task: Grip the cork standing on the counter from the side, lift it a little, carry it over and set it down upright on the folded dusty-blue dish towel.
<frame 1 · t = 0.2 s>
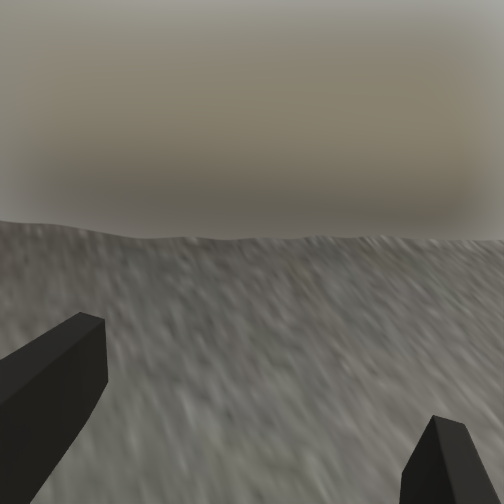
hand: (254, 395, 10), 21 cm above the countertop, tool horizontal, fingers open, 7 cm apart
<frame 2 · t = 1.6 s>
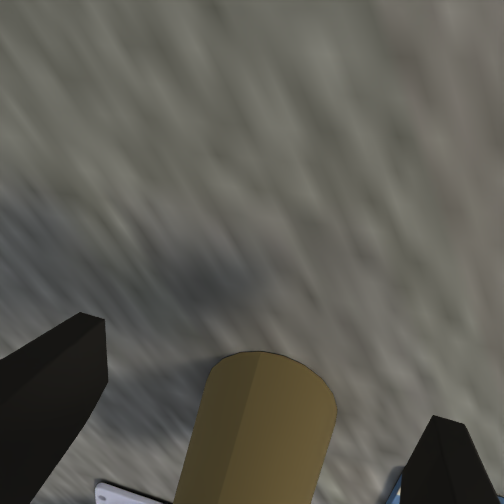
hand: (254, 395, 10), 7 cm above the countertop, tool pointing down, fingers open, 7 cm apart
cork: (270, 399, 22), on the countertop
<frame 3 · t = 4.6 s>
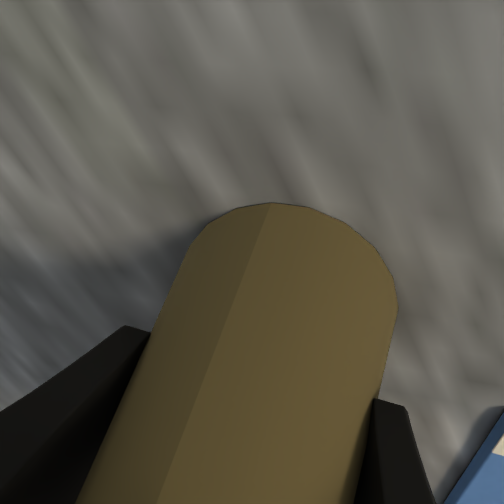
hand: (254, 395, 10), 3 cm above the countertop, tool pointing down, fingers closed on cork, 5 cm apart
cork: (285, 298, 13), on the countertop, touching gripper
when the fingers open (4 cm above the countertop, at t = 9.6 s): cork stays where it is, resting on towel.
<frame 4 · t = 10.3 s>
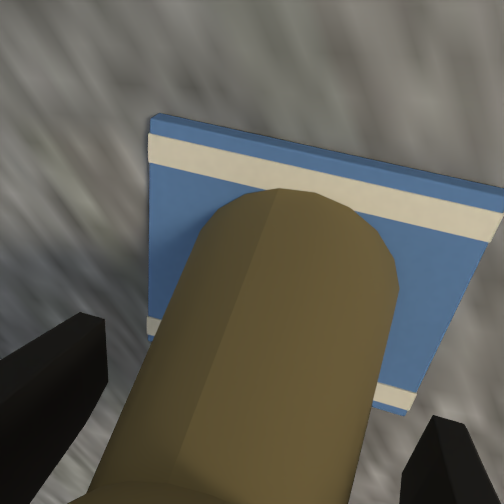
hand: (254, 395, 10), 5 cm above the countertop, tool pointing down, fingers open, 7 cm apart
cork: (291, 280, 14), resting on towel
towel: (295, 273, 14), on the countertop
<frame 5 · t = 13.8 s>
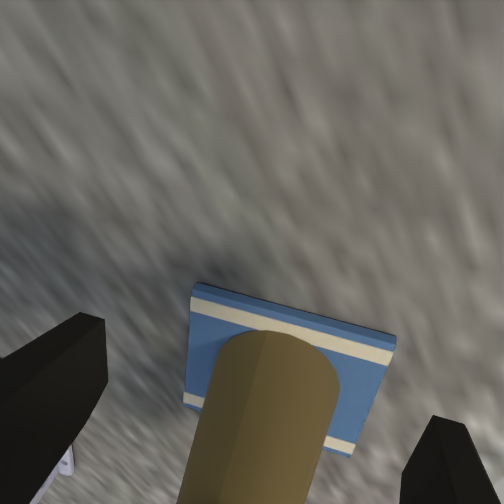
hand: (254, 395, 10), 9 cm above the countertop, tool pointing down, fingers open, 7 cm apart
cork: (276, 376, 23), resting on towel
towel: (278, 370, 23), on the countertop
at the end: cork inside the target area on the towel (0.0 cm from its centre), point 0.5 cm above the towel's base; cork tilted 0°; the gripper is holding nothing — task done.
